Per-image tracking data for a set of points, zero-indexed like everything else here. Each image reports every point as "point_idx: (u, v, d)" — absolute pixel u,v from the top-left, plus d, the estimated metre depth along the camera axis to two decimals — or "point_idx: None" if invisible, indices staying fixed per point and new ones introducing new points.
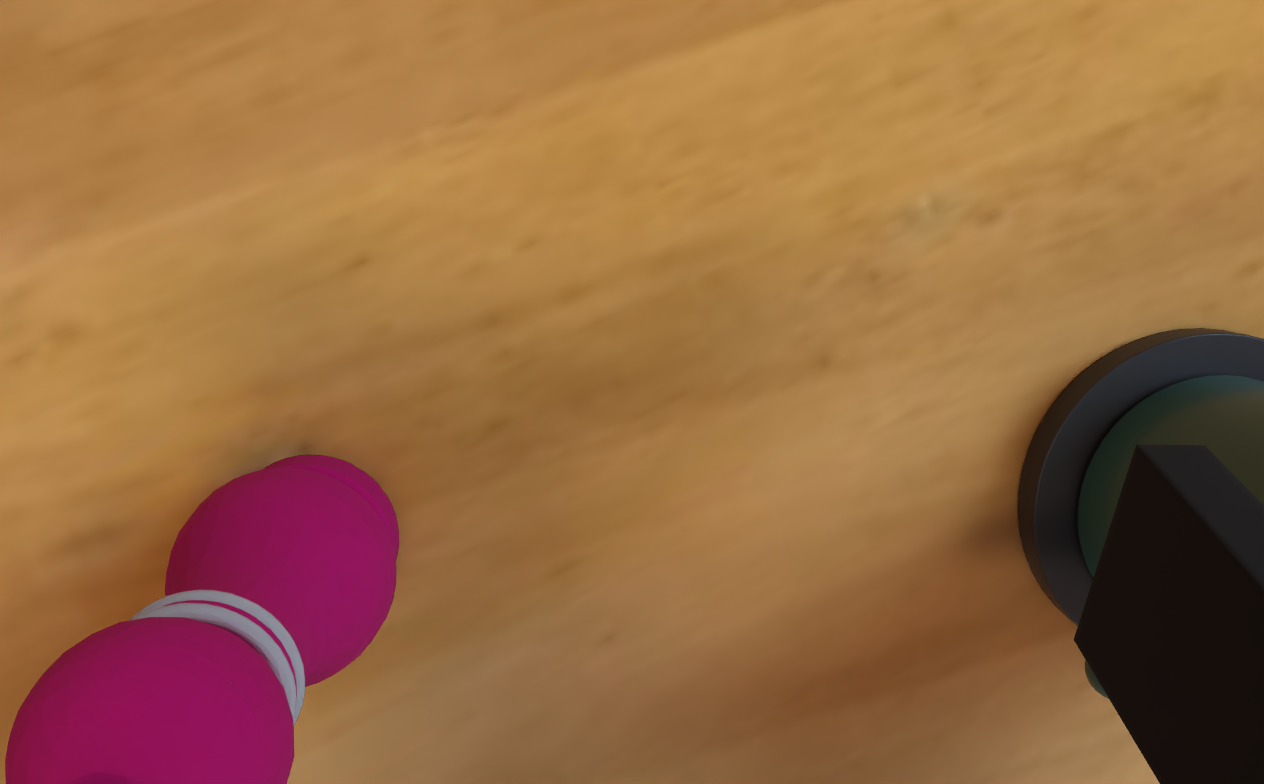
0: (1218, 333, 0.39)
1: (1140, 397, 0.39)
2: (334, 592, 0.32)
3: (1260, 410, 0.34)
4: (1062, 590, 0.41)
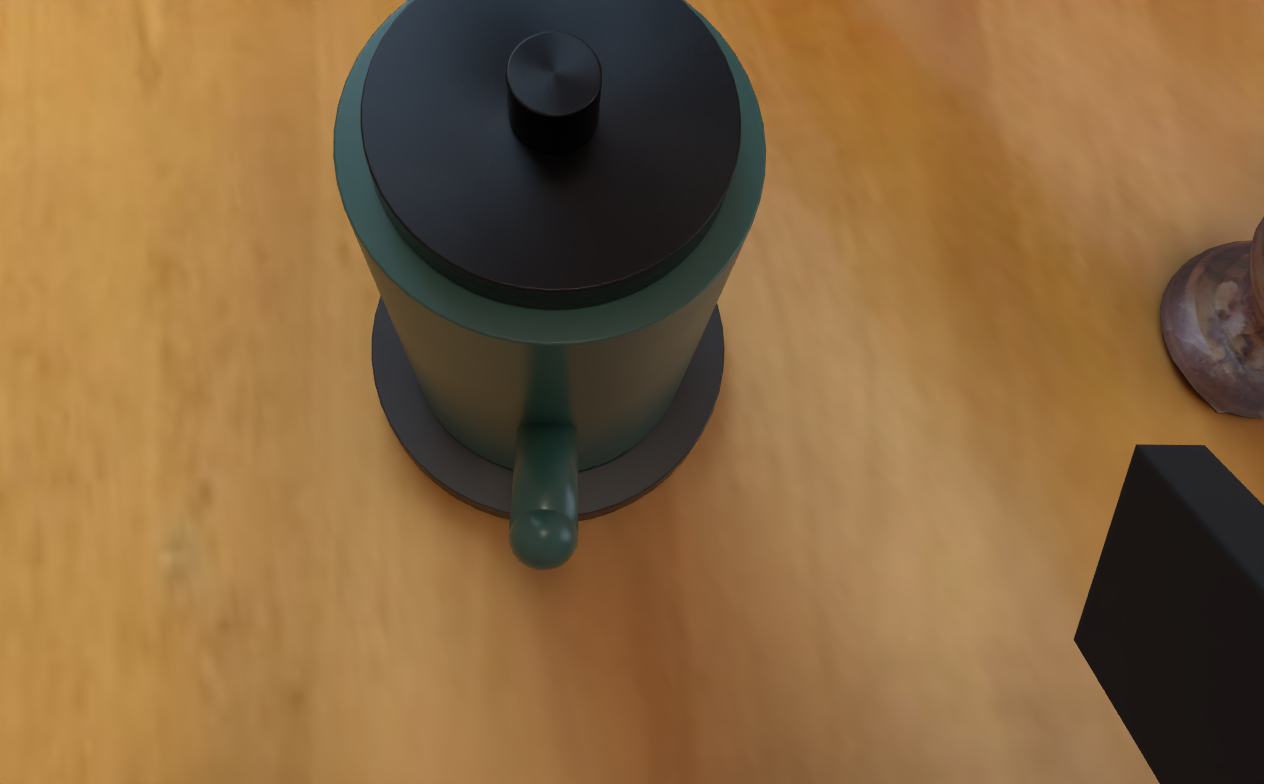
0: (380, 300, 0.39)
1: None
2: None
3: None
4: (603, 498, 0.38)
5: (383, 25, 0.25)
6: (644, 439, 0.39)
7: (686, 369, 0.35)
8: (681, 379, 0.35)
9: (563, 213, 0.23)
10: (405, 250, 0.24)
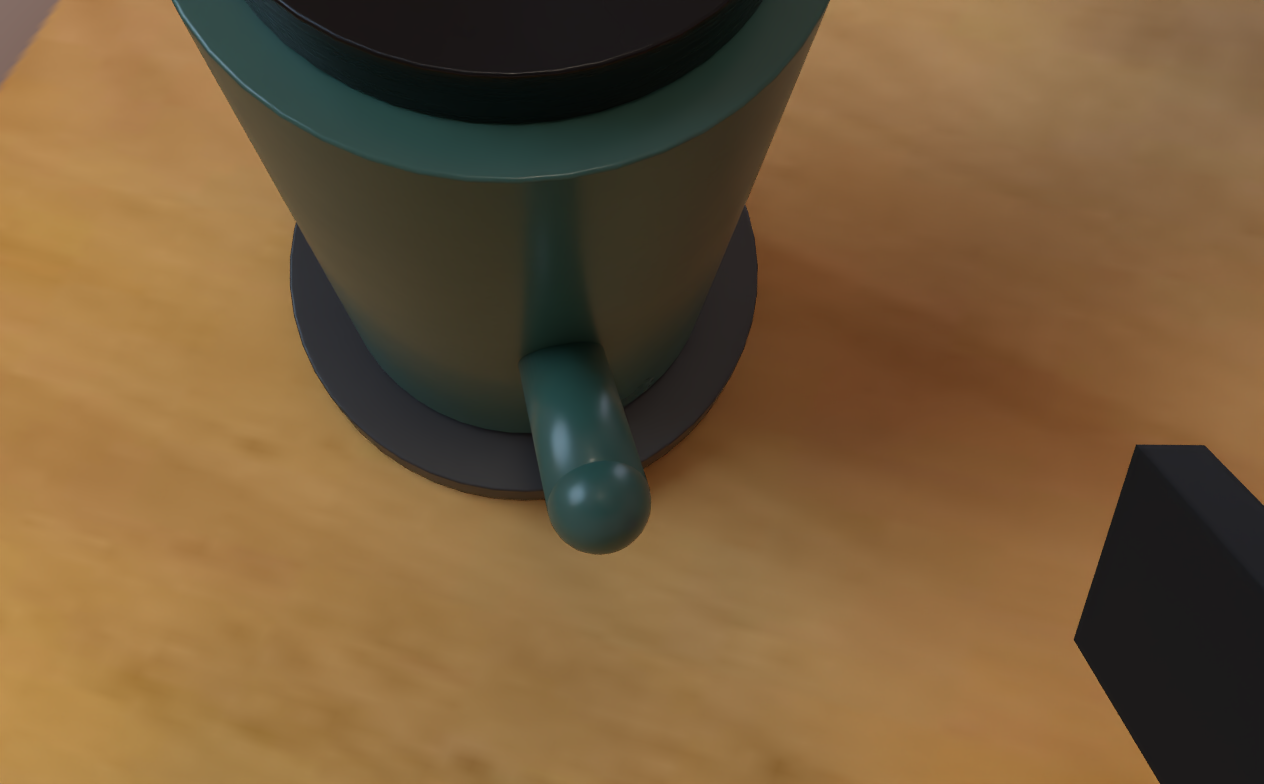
0: (357, 425, 0.28)
1: (494, 432, 0.28)
2: None
3: None
4: (742, 302, 0.30)
5: None
6: None
7: None
8: None
9: None
10: (298, 66, 0.14)
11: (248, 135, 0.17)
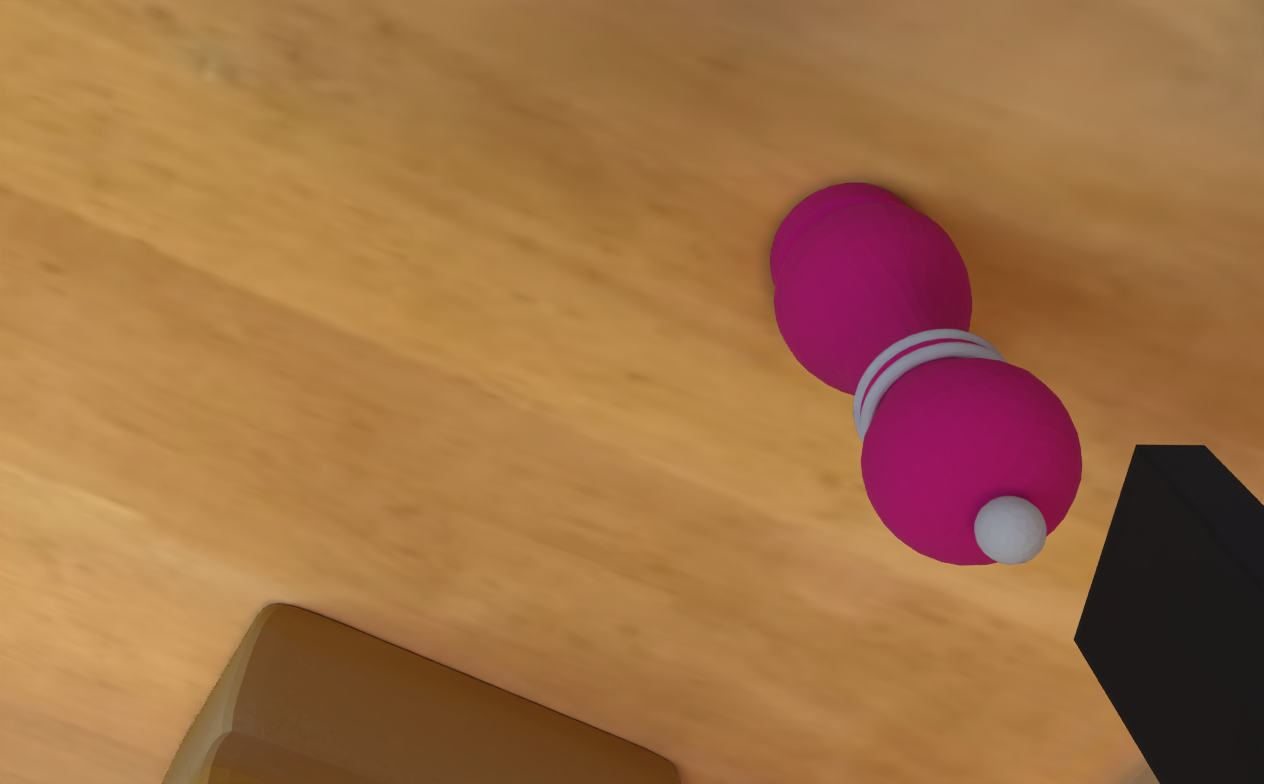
0: None
1: None
2: (836, 308, 0.37)
3: None
4: None
5: None
6: None
7: None
8: None
9: None
10: None
11: None
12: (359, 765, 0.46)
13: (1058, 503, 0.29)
